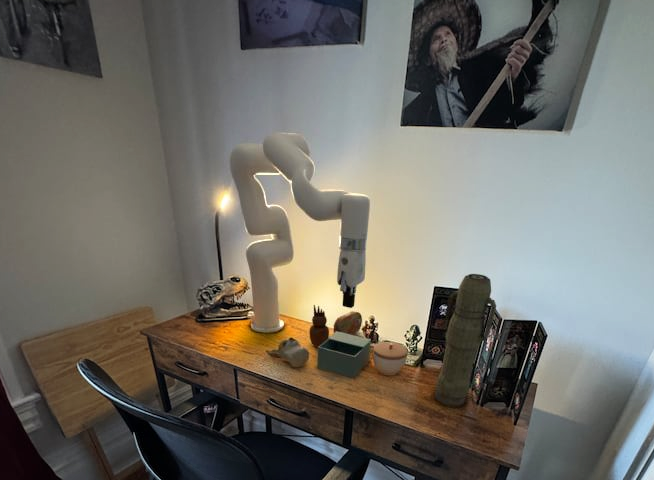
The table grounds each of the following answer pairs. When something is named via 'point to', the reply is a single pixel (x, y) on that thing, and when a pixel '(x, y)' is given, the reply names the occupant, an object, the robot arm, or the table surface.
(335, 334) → the flap
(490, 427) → the table surface
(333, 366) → the carton
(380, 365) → the trinket box
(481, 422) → the table surface
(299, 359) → the ceramic sculpture
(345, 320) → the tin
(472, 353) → the thermos
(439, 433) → the table surface
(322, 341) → the wooden figurine
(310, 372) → the table surface
